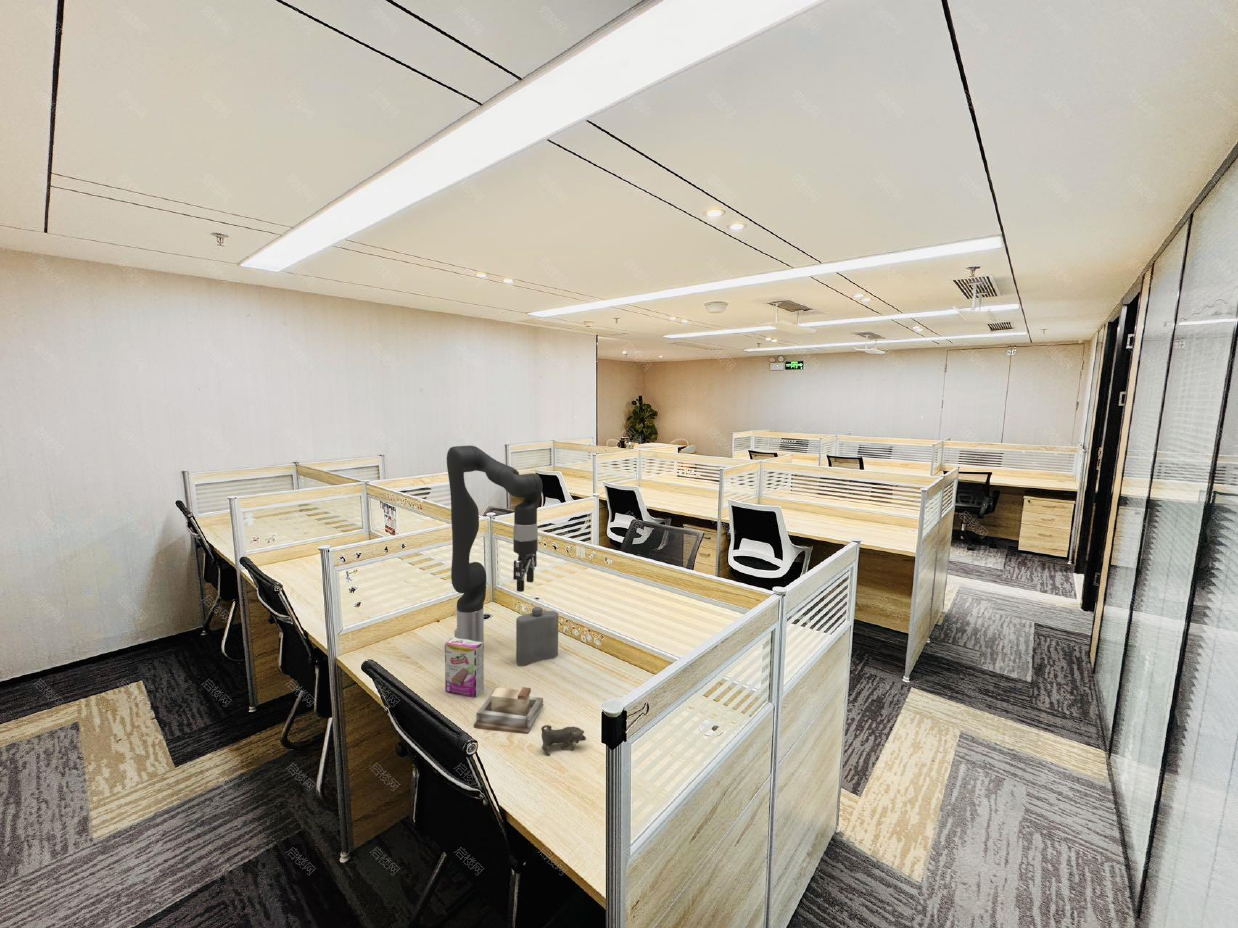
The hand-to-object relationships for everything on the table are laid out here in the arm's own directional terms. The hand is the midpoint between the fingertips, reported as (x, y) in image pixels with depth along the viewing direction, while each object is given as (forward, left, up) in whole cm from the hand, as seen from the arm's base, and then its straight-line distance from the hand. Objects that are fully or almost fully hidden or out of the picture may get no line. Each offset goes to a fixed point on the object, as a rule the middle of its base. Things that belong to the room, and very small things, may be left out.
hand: (525, 586), depth 161 cm
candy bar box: (-17, -8, -33) cm, 38 cm away
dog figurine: (+21, -27, -33) cm, 48 cm away
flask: (-1, +14, -33) cm, 36 cm away
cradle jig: (+2, -17, -33) cm, 37 cm away
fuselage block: (+2, -17, -32) cm, 36 cm away
